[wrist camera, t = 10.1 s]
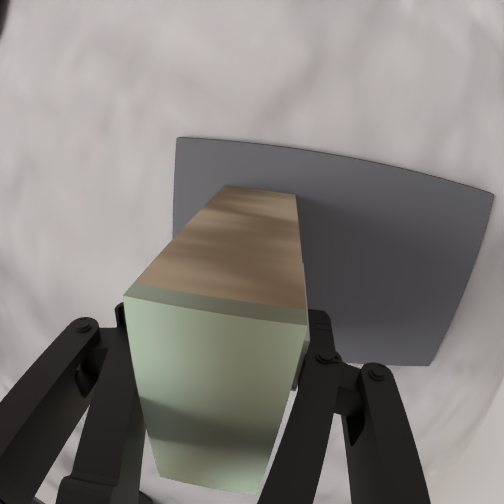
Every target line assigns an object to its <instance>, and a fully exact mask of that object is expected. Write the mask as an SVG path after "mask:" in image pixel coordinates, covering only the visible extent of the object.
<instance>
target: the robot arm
mask: <svg viewBox="0 0 504 504" xmlns="http://www.w3.org/2000/svg"><path fill="white" fill-rule="evenodd" d="M302 264H303V263H302ZM303 275H304V286H305V299H306V312H307V325H308V326H307V330H306V334H305V338H304V342H303V346H302V350H301V353H300V357H299V361H298V365H297V368H296V372H295V376H294V379H293V383H292V387H291V390H292V391H296V388H297V385H298V392H297V395H296V398H295V401H294V404H293V407H292V410H291V413H290V416H289V419H288V422H287V425H286V428H285V431H284V434H283V437H282V440H281V442H280V445H279V448H278V451H277V454H276V456H275V459H274V462H273V464H272V467H271V470H270V472H269V475H268V478H267V480H266V483H265V485H264V488H263V490H262V493H261V495H260V498H259V500H258V503H257V504H313V501H314V497H315V493H316V489H317V486H318V482H319V478H320V474H321V470H322V465H323V461H324V457H325V453H326V448H327V444H328V439H329V434H330V429H331V424H332V419H333V414H334V413H336V414H340V415H341V419H342V426H343V433H344V441H345V448H346V456H347V465H348V474H349V483H350V493H351V503H352V504H431V503H430V498H429V494H428V490H427V486H426V482H425V478H424V474H423V470H422V466H421V463H420V459H419V455H418V452H417V448H416V445H415V441H414V438H413V435H412V431H411V428H410V425H409V422H408V418H407V415H406V412H405V409H404V406H403V403H402V400H401V397H400V394H399V391H398V388H397V385H396V382H395V379H394V376H393V374H392V372H391V370H390V369H389V368H388V367H386V366H385V365H383V364H380V363H375V362H371V363H367V364H365V365H363V367H362V368H361V369H360V368H356V367H353V366H350V365H348V364H346V363H344V362H343V361H342V357H341V356H340V354H339V353H338V352H336V350H335V343H334V337H333V332H332V326H331V320H330V317H329V316H328V314H327V313H326V312H325V311H322V310H314V309H308V308H307V296H306V285H305V274H304V264H303ZM115 315H116V321H117V327H116V328H99V324H98V322H97V321H96V320H95V319H93V318H89V317H82V318H78V319H76V320H74V321H73V322H71V323H70V324H69V325H68V326H67V327H66V329H65V330H64V331H63V332H62V333H61V334H60V335H59V336H58V337H57V338H56V339H55V340H54V341H53V342H52V344H51V345H50V346H49V347H48V348H47V349H46V350H45V351H44V352H43V353H42V354H41V356H40V357H39V358H38V359H37V360H36V361H35V362H34V363H33V365H32V366H31V367H30V368H29V369H28V370H27V371H26V373H25V374H24V375H23V376H22V377H21V378H20V379H19V381H18V382H17V383H16V384H15V385H14V386H13V388H12V389H11V390H10V391H9V392H8V394H7V395H6V396H5V397H4V398H3V400H2V401H1V402H0V504H45V503H43V502H42V501H40V500H39V499H38V498H36V497H35V494H36V493H37V491H38V489H39V487H40V485H41V484H42V482H43V480H44V479H45V477H46V475H47V473H48V472H49V470H50V468H51V467H52V465H53V463H54V461H55V460H56V458H57V456H58V455H59V453H60V451H61V450H62V448H63V446H64V445H65V443H66V441H67V440H68V438H69V437H70V435H71V433H72V432H73V430H74V428H75V427H76V425H77V424H78V422H79V420H80V419H81V417H82V416H83V414H84V413H85V411H86V409H87V408H88V406H89V405H90V407H89V410H88V413H87V417H86V420H85V424H84V427H83V431H82V434H81V438H80V442H79V446H78V449H77V453H76V457H75V461H74V465H73V470H72V473H71V474H70V476H66V477H64V478H63V479H62V480H61V483H60V486H59V490H58V494H57V499H56V504H153V503H152V501H151V500H150V499H149V498H147V497H146V496H145V495H143V494H142V493H140V492H139V486H140V476H141V466H142V457H143V448H144V440H145V432H146V424H145V420H144V416H143V412H142V407H141V403H140V398H139V394H138V389H137V384H136V379H135V374H134V368H133V363H132V357H131V351H130V345H129V338H128V332H127V325H126V317H125V310H124V302H122V303H120V304H118V305H117V306H116V307H115Z"/></svg>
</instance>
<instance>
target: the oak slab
mask: <svg viewBox="0 0 504 504" xmlns="http://www.w3.org/2000/svg"><path fill="white" fill-rule="evenodd" d="M123 301H124V310H125V317H126V325H127V332H128V338H129V345H130V351H131V357H132V363H133V368H134V374H135V379H136V384H137V389H138V394H139V398H140V403H141V407H142V412H143V416H144V420H145V424H146V428H147V432H148V436H149V440H150V444H151V447H152V451H153V455H154V458H155V462H156V465H157V468H158V472H159V475H160V477H164V478H168V479H172V480H176V481H180V482H184V483H189V484H193V485H198V486H203V487H208V488H213V489H219V490H225V491H231V492H238V493H246V494H254V495H257V493H258V490H259V488H260V485H261V482H262V479H263V476H264V473H265V470H266V467H267V464H268V461H269V458H270V455H271V452H272V449H273V446H274V443H275V440H276V437H277V434H278V430H279V427H280V424H281V421H282V417H283V414H284V411H285V407H286V404H287V401H288V397H289V394H290V390H291V387H292V383H293V379H294V376H295V372H296V368H297V365H298V361H299V357H300V353H301V350H302V346H303V342H304V338H305V334H306V330H307V326H308V325H307V312H306V299H305V286H304V275H303V264H302V253H301V243H300V233H299V223H298V214H297V205H296V196H295V195H293V194H286V193H279V192H271V191H263V190H256V189H247V188H239V187H230V186H223V187H222V188H221V189H220V190H219V191H218V192H217V193H216V194H215V195H214V196H213V197H212V198H211V199H210V200H209V201H208V202H207V203H206V204H205V206H204V207H203V208H202V209H201V210H200V211H199V212H198V213H197V214H196V215H195V216H194V217H193V218H192V219H191V220H190V221H189V222H188V223H187V224H186V226H185V227H184V228H183V229H182V230H181V231H180V232H179V233H178V234H177V235H176V236H175V237H174V238H173V240H172V241H171V242H170V243H169V244H168V245H167V246H166V247H165V248H164V249H163V251H162V252H161V253H160V254H159V255H158V256H157V257H156V258H155V259H154V261H153V262H152V263H151V264H150V265H149V266H148V267H147V268H146V270H145V271H144V272H143V273H142V274H141V275H140V276H139V277H138V279H137V280H136V281H135V282H134V283H133V284H132V286H131V287H130V288H129V289H128V290H127V291H126V293H125V294H124V295H123Z"/></svg>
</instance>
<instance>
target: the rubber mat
mask: <svg viewBox="0 0 504 504" xmlns="http://www.w3.org/2000/svg"><path fill="white" fill-rule="evenodd" d="M223 186H230V187H239V188H247V189H256V190H263V191H271V192H279V193H286V194H293V195H295V196H296V205H297V214H298V223H299V233H300V243H301V253H302V263H303V264H304V274H305V285H306V296H307V308H308V309H314V310H322V311H325V312H326V313H327V314H328V316H329V317H330V320H331V326H332V332H333V337H334V343H335V350H336V352H338V353H339V354H340V356H341V357H342V361H343V362H345V363H359V364H367V363H371V362H375V363H380V364H383V365H399V366H429V365H430V364H431V362H432V360H433V358H434V356H435V354H436V352H437V350H438V348H439V346H440V344H441V342H442V340H443V338H444V336H445V334H446V332H447V330H448V327H449V325H450V323H451V321H452V319H453V316H454V314H455V312H456V310H457V307H458V305H459V302H460V300H461V298H462V295H463V293H464V290H465V288H466V285H467V282H468V280H469V277H470V274H471V272H472V269H473V266H474V263H475V260H476V257H477V254H478V251H479V248H480V245H481V242H482V239H483V235H484V232H485V228H486V225H487V221H488V218H489V214H490V210H491V206H492V202H493V198H494V195H493V194H491V193H489V192H486V191H483V190H480V189H476V188H473V187H470V186H467V185H463V184H460V183H456V182H453V181H449V180H446V179H442V178H438V177H435V176H431V175H427V174H423V173H419V172H415V171H411V170H407V169H403V168H398V167H394V166H389V165H385V164H380V163H375V162H371V161H366V160H361V159H356V158H350V157H345V156H339V155H334V154H328V153H322V152H316V151H309V150H303V149H296V148H289V147H281V146H273V145H265V144H256V143H247V142H237V141H226V140H214V139H201V138H184V137H179V138H177V139H176V155H175V174H174V198H173V238H174V237H175V236H176V235H177V234H178V233H179V232H180V231H181V230H182V229H183V228H184V227H185V226H186V224H187V223H188V222H189V221H190V220H191V219H192V218H193V217H194V216H195V215H196V214H197V213H198V212H199V211H200V210H201V209H202V208H203V207H204V206H205V204H206V203H207V202H208V201H209V200H210V199H211V198H212V197H213V196H214V195H215V194H216V193H217V192H218V191H219V190H220V189H221V188H222V187H223Z"/></svg>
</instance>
